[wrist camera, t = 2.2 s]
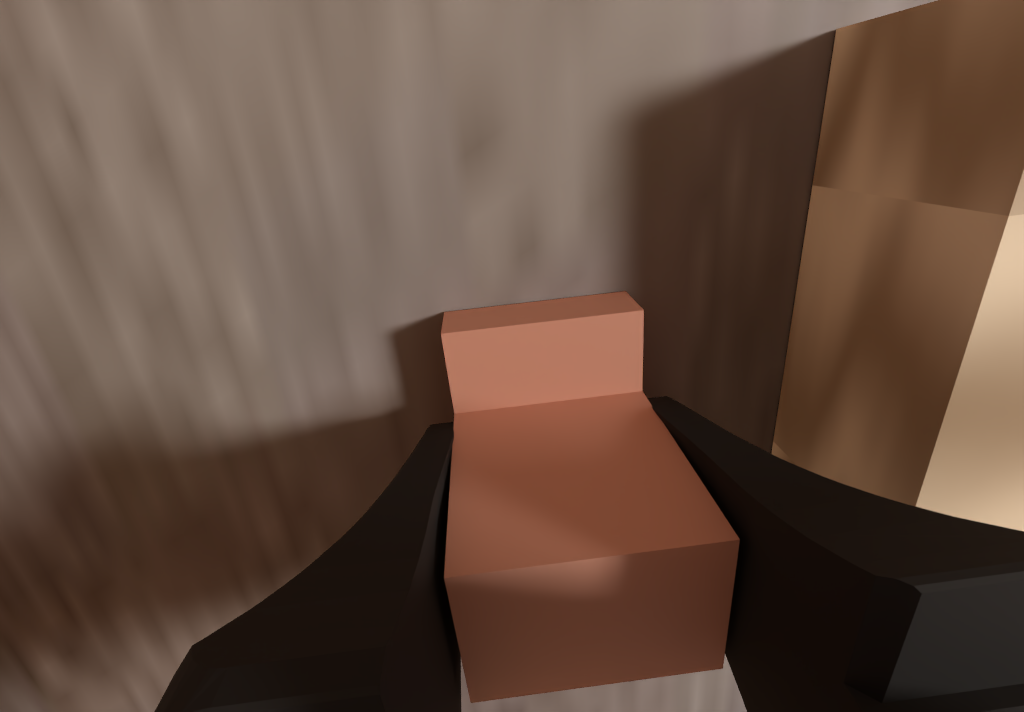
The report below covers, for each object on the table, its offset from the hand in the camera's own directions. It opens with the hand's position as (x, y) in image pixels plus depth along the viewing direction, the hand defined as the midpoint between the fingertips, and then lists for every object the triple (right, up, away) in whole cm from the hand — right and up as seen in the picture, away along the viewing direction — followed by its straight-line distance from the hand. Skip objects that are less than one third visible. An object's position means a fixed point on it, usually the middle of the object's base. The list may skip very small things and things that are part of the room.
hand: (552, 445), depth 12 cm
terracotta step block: (0, 0, +1) cm, 1 cm away
